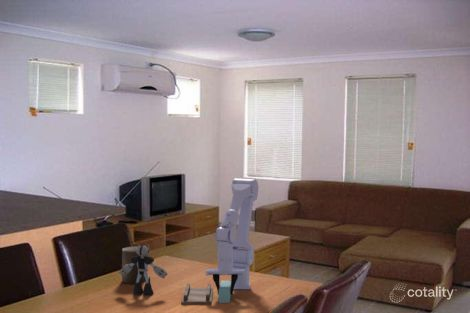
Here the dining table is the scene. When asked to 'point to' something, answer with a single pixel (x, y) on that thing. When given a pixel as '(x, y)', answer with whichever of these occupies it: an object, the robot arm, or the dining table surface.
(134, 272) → the pillar candle
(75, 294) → the dining table surface
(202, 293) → the cradle
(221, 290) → the tall teal pillar block
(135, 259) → the robot
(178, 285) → the dining table surface
